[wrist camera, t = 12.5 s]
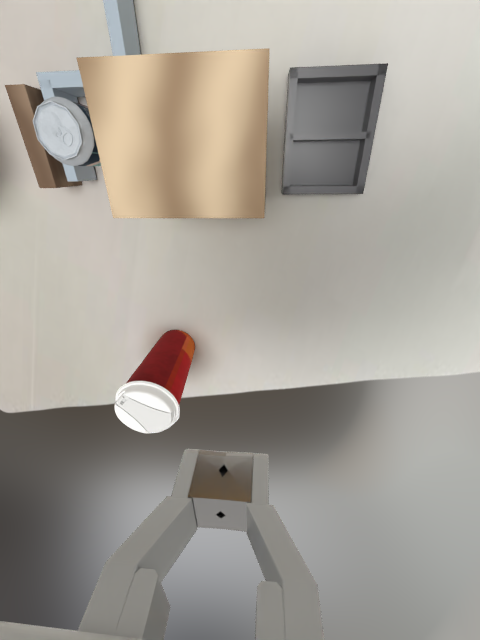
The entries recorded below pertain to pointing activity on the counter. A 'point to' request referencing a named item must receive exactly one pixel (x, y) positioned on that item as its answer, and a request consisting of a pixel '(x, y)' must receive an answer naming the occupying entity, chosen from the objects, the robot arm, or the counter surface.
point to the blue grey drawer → (70, 82)
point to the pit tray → (330, 127)
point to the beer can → (66, 132)
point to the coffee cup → (157, 385)
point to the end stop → (42, 162)
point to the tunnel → (181, 132)
